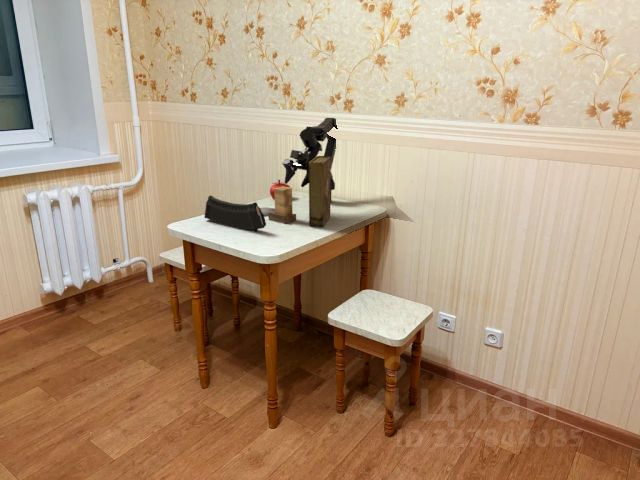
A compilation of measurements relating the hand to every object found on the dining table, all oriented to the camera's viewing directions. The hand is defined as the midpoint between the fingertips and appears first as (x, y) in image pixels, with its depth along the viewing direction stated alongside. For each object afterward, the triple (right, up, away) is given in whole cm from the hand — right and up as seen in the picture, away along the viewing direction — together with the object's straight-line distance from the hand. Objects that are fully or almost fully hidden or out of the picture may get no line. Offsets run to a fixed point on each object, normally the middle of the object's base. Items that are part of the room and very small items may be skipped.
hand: (293, 184), depth 196 cm
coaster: (-13, -11, +8) cm, 19 cm away
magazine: (-22, -18, -10) cm, 30 cm away
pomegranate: (-8, -3, +32) cm, 34 cm away
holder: (-4, -14, -2) cm, 15 cm away
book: (+11, -15, -4) cm, 20 cm away
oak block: (-4, -14, -2) cm, 15 cm away
